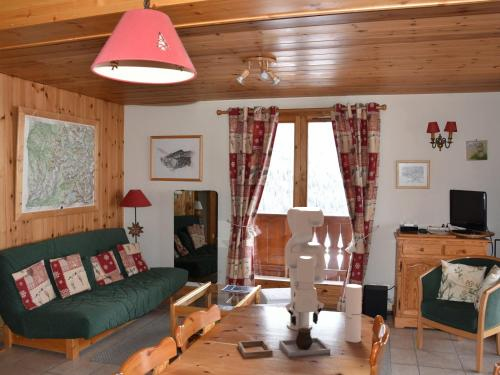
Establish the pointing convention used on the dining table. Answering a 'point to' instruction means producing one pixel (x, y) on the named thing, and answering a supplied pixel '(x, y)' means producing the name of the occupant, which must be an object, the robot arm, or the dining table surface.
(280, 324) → the dining table surface
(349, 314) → the cylindrical container
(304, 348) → the mate gourd
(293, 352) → the tray
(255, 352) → the tray
